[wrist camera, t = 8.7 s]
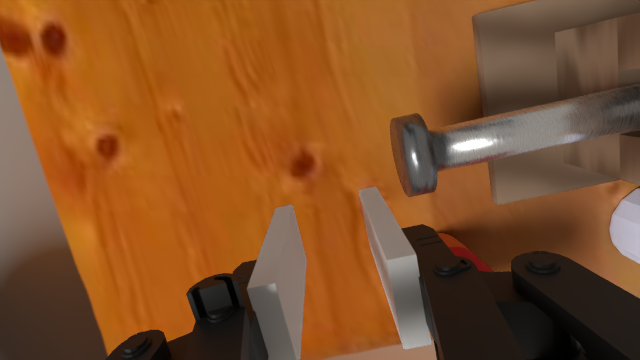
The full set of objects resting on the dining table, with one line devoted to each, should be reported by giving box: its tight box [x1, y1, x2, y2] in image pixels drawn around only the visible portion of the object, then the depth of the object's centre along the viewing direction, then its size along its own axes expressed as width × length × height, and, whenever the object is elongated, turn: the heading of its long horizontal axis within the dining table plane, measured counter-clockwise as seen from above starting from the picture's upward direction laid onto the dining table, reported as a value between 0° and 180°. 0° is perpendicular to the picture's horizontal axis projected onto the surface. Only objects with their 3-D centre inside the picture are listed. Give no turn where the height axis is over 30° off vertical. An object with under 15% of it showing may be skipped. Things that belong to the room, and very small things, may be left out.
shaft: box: [390, 83, 640, 197], centre depth 25 cm, size 6×18×6 cm, turn 103°
